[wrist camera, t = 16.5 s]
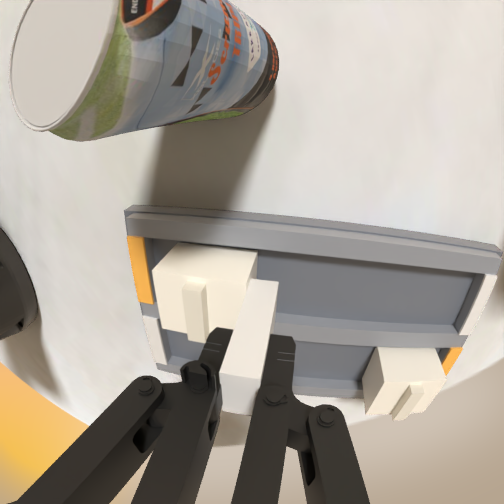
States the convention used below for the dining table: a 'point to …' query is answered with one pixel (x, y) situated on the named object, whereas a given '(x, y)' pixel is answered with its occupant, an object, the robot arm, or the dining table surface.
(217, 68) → the beverage can
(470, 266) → the switch bank
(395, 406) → the tab
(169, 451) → the robot arm
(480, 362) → the dining table surface
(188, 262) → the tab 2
